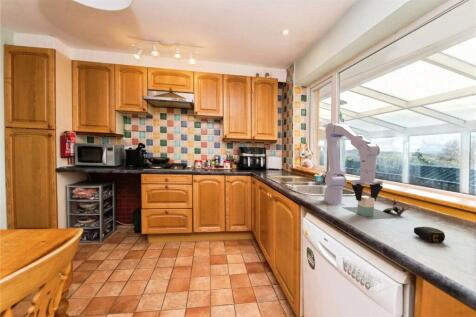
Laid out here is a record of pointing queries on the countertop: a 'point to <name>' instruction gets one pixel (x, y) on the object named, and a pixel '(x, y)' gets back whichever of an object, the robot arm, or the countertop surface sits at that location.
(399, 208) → the eagle figurine
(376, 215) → the build mat
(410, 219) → the countertop surface
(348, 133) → the robot arm
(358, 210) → the teal brick
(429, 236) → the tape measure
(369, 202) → the cream brick
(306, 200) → the countertop surface
